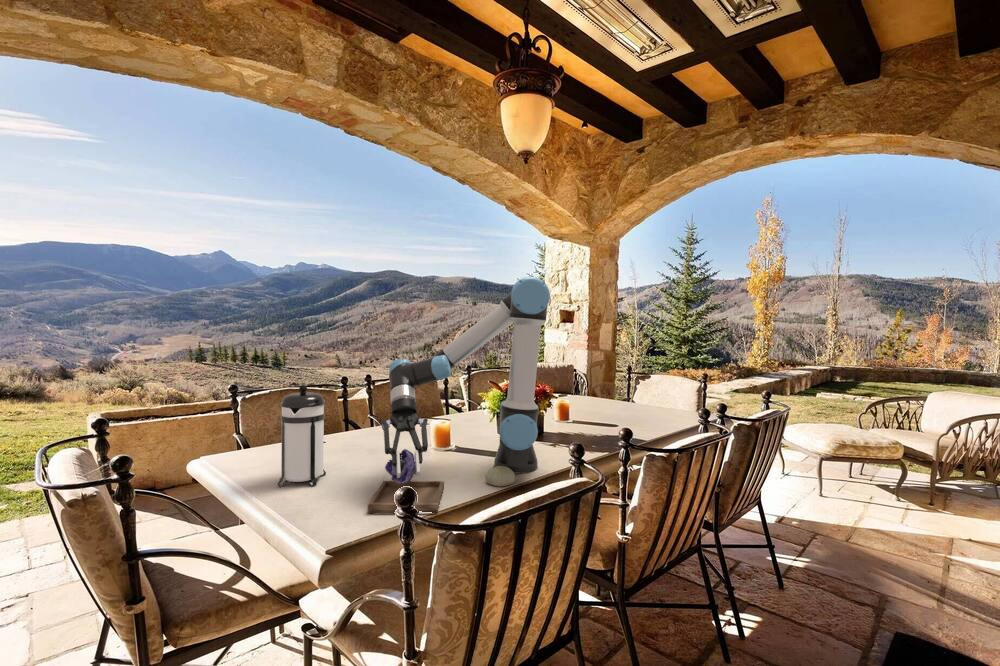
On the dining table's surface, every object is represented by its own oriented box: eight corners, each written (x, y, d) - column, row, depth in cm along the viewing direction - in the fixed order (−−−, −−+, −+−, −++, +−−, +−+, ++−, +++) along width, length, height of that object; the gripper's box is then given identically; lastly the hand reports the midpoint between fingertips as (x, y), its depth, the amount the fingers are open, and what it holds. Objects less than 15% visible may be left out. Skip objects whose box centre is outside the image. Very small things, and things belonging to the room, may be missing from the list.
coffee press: (339, 480, 143) (340, 385, 143) (287, 493, 132) (287, 389, 131) (316, 467, 156) (316, 379, 155) (266, 478, 144) (266, 383, 144)
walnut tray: (443, 489, 137) (444, 480, 137) (437, 514, 119) (437, 504, 119) (383, 488, 136) (383, 480, 136) (367, 513, 119) (367, 504, 118)
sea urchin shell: (521, 480, 141) (504, 463, 139) (504, 499, 139) (486, 483, 137) (512, 470, 149) (496, 454, 148) (495, 489, 148) (479, 473, 146)
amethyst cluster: (405, 448, 138) (394, 442, 129) (429, 462, 135) (419, 456, 126) (388, 477, 135) (376, 472, 126) (412, 491, 132) (401, 488, 123)
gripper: (430, 409, 145) (438, 478, 129) (373, 411, 139) (374, 483, 124) (433, 395, 139) (442, 465, 124) (374, 397, 134) (375, 470, 119)
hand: (408, 474), depth 124 cm, fingers closed on amethyst cluster, 4 cm apart
